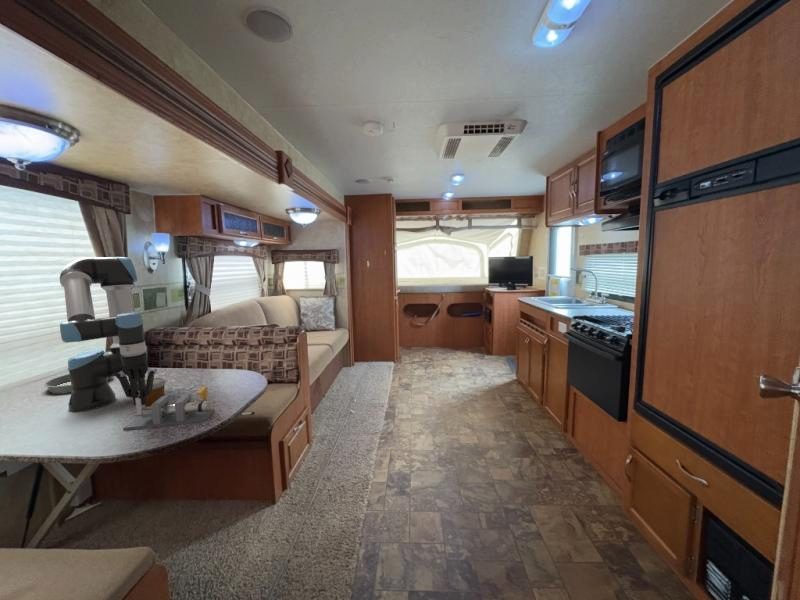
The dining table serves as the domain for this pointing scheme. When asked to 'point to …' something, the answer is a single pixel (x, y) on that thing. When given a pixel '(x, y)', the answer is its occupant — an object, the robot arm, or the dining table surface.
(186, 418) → the collar bench
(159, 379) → the disposable coffee cup
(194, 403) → the aluminium tube
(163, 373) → the dining table surface
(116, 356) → the robot arm
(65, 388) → the cake pan
